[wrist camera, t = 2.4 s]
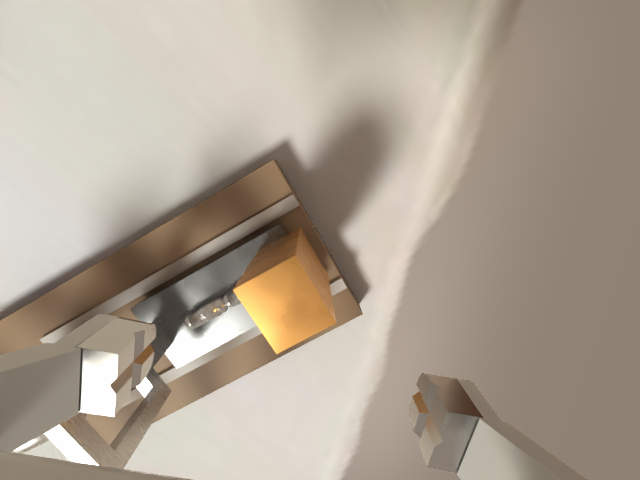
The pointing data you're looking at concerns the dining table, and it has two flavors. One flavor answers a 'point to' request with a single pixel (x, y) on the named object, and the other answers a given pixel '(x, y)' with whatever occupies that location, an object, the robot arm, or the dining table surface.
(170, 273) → the board
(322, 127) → the dining table surface
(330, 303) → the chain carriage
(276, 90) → the dining table surface
